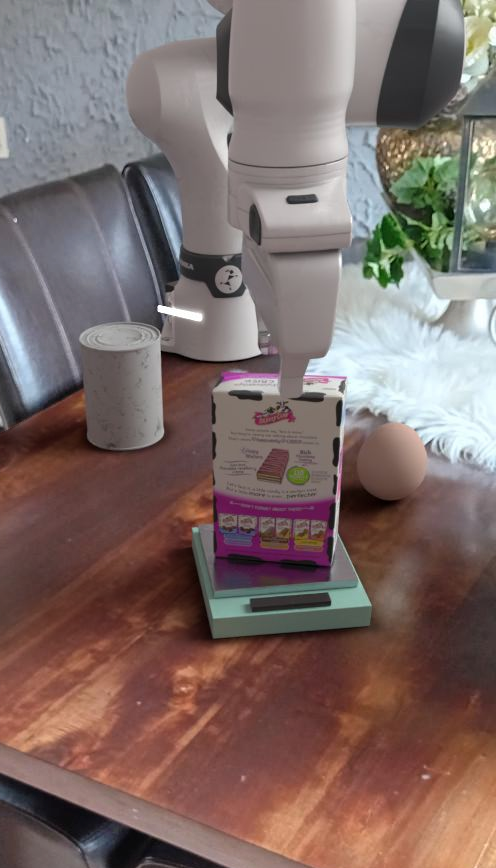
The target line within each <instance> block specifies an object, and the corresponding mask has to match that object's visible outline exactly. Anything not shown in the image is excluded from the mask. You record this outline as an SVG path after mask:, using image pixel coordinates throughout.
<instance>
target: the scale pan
mask: <svg viewBox="0 0 496 868" xmlns="http://www.w3.org/2000/svg"><path fill="white" fill-rule="evenodd" d="M197 527H198V534H199V538H200V542H201V546H202V551H203V555H204V559H205V563H206V567H207V571H208V575H209V580H210V584H211V588H212V592H213V596H214V598H223V597H235V596H248V595H260V594H272V593H285V592H297V591H309V590H322V589H334V588H347V587H358V578H357V575H358V574H357V575H356V573H357V572H356V573H355V571H356V570H355V571H354V569H355V568H354V569H353V567H354V566H353V567H352V565H351V563H350V560H351V559H350V560H349V558H350V557H349V558H348V556H349V555H348V556H347V554H348V553H347V554H346V552H345V550H344V547H345V546H344V547H343V545H344V544H343V545H342V543H343V542H342V543H341V541H342V540H341V541H340V539H341V538H340V539H339V537H338V535H337V541H336V546H335V551H334V555H333V560H332V564H331V566H322V565H311V564H299V563H286V562H274V561H262V560H251V559H238V558H227V557H217V556H214V550H213V531H214V530H213V523H201V524H197Z"/></svg>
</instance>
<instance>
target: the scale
mask: <svg viewBox="0 0 496 868" xmlns="http://www.w3.org/2000/svg"><path fill="white" fill-rule="evenodd" d="M338 537H339V539H340V541H341V543H342V545H343V547H344V550H345V552H346V554H347V556H348V558H349V560H350V563H351V565H352V567H353V569H354V571H355V573H356V575H357V578H358V587H347V588H334V589H322V590H309V591H297V592H285V593H272V594H260V595H248V596H235V597H223V598H214V596H213V592H212V588H211V584H210V580H209V575H208V571H207V567H206V563H205V559H204V555H203V551H202V546H201V542H200V538H199V534H198V526H194V527H191V546H192V553H193V557H194V561H195V566H196V570H197V574H198V579H199V583H200V588H201V591H202V598H203V600H204V605H205V609H206V614H207V618H208V622H209V627H210V632H211V637H212V639H214V640H215V639H225V638H238V637H250V636H251V637H252V636H262V635H275V634H286V633H287V634H288V633H300V632H311V631H323V630H324V631H325V630H335V629H348V628H361V627H370V625H371V616H372V608H373V606H372V604H371V601H370V598H369V596H368V594H367V593H366V592H367V591H366V590H365V588H364V586H363V583H362V582H361V580H360V578H359V575H358V573H357V572H356V569H355V567H354V565H353V562H352V560H351V557H350V556H349V554H348V552H347V549H346V547H345V545H344V542H343V541H342V539H341V537H340V534H339V533H338Z"/></svg>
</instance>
